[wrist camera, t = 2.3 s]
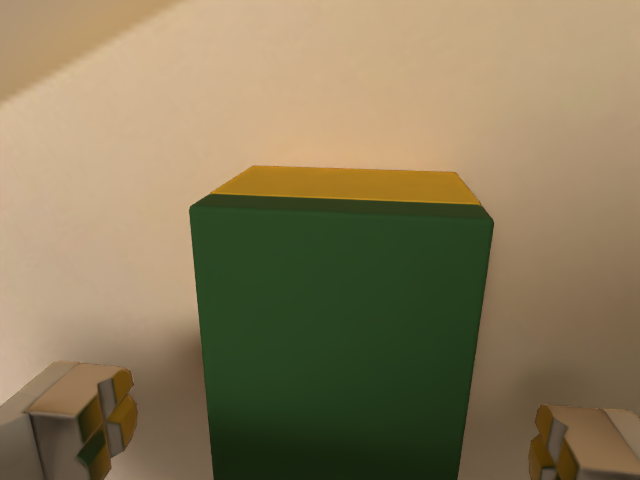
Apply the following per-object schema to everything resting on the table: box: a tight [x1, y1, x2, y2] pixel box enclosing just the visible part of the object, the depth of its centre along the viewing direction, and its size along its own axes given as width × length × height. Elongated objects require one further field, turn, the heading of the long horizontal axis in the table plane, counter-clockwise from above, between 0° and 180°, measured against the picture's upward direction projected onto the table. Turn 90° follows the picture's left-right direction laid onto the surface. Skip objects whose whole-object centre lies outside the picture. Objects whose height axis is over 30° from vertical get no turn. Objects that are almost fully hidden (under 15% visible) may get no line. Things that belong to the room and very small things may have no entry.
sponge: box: [189, 166, 494, 480], centre depth 10 cm, size 8×5×4 cm, turn 0°
